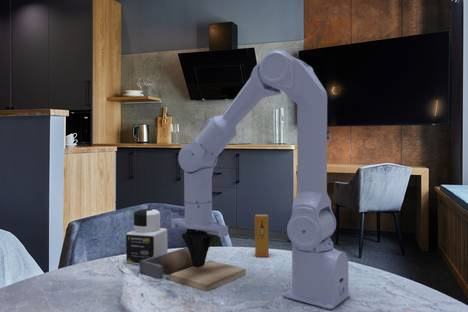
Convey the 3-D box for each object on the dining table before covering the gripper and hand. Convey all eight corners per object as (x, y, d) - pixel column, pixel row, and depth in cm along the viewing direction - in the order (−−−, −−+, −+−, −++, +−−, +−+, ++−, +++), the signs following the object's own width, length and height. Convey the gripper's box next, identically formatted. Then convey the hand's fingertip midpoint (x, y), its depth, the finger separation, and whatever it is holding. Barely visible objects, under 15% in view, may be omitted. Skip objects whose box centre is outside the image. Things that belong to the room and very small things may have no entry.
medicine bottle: (125, 263, 91) (125, 211, 91) (141, 255, 98) (141, 207, 98) (153, 266, 89) (153, 213, 89) (168, 257, 96) (167, 208, 96)
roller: (181, 255, 92) (193, 269, 90) (156, 264, 85) (169, 279, 83) (189, 242, 90) (202, 255, 88) (165, 250, 83) (178, 265, 82)
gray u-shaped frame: (205, 263, 91) (205, 252, 91) (160, 278, 81) (159, 266, 80) (185, 258, 95) (185, 247, 95) (139, 272, 85) (139, 260, 85)
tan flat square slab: (245, 274, 83) (245, 268, 83) (207, 291, 74) (206, 284, 74) (205, 264, 90) (205, 259, 90) (165, 278, 81) (165, 272, 81)
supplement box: (268, 253, 99) (268, 213, 99) (268, 257, 95) (268, 216, 95) (255, 253, 99) (255, 213, 99) (254, 257, 96) (254, 216, 96)
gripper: (237, 202, 81) (237, 267, 82) (187, 196, 90) (187, 255, 91) (214, 206, 76) (215, 276, 76) (163, 200, 85) (164, 263, 85)
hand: (198, 266), depth 83 cm, fingers closed
